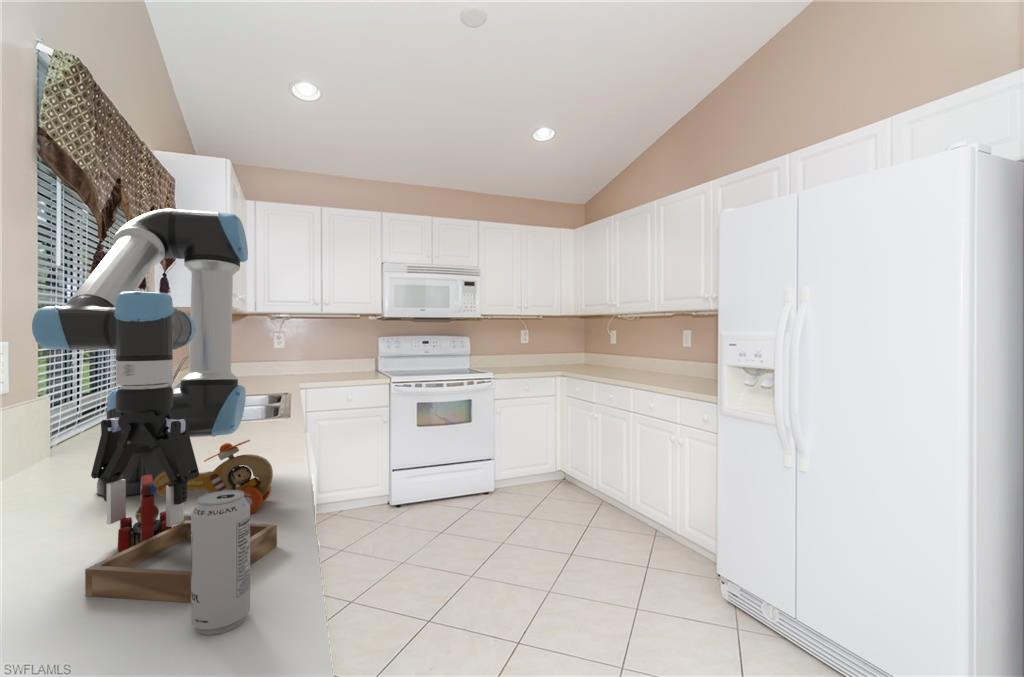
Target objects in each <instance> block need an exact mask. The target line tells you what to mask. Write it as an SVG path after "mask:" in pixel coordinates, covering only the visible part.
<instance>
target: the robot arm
mask: <svg viewBox="0 0 1024 677" xmlns="http://www.w3.org/2000/svg"><path fill="white" fill-rule="evenodd" d="M246 236H247V235H246V231H245V228H244V225H243V222H242V220H241V218H240V217H239V216H237V215H236V214H233V213H228V212H220V211H204V210H202V211H201V210H189V209H175V208H162V209H157V210H156V209H155V210H152V211H149V212H146V213H143V214H141V215H139V216H137V217H135V218H133V219H131V220H129V221H128V222H126V223H125V224H124V225H123V226H121V227H120V228H119V229H118V231H117V232H115V234H114V236H113V238H112V247H111V249H110V250H109V251H108V252H107V253H106V255H105V256H104V257H103V258H102V260H100V262H99V263H98V265H97V266H96V267H95V269H93V271H92V272H91V273H90V274H89V276H88V277H87V279H86V280H85V281H84V282H83V283H82V285H80V287H79V288H78V289H77V291H76V292H75V293H74V294H73V296H71V298H70V299H69V300H68V301H67V303H66V304H65V305H63V306H61V305H58V304H57V305H54V306H53V305H52V306H50V305H49V306H44V307H40V308H39V309H38V310H36V312H35V313H34V316H33V317H32V321H31V332H32V335H33V337H34V340H35V342H36V343H37V344H38V345H39V346H40V347H41V348H43V349H47V350H63V351H64V350H66V351H87V350H89V351H90V350H115V384H116V385H117V386H119V387H120V388H116V389H113V390H112V391H110V392H109V393H108V395H107V401H106V402H107V403H106V410H105V413H106V419H102V420H101V421H100V431H101V434H100V438H99V443H98V447H97V450H96V455H95V458H94V462H93V465H92V470H91V474H90V476H91V478H92V479H94V480H95V479H97V481H96V494H97V495H99V496H102V497H103V500H104V502H106V524H107V525H111V524H114V523H116V522H120V520H121V519H123V518H127V516H126V515H127V511H126V510H127V508H126V507H127V506H126V505H127V502H126V501H127V498H126V497H127V496H134V495H141V477H142V476H144V475H152V477H153V482H154V480H155V478H156V477H157V476H158V475H159V474H160V473H163V472H166V474H167V476H168V478H169V480H170V482H171V483H170V484H168V485H167V486H166V497H165V511H166V527H171V526H172V527H174V526H176V525H178V524H180V523H182V522H184V520H185V517H184V515H185V513H184V510H185V508H184V506H185V505H184V504H185V503H186V502H187V499H188V491H187V482H188V481H189V480H191V479H194V478H197V477H198V476H199V473H200V471H199V467H198V463H197V460H196V456H195V451H194V449H193V445H192V441H191V438H200V437H201V438H203V437H212V438H215V437H218V436H226V435H227V436H228V435H232V434H233V433H234V434H235V432H236V431H237V430H238V429H239V427H240V425H241V423H242V420H243V416H244V411H245V406H246V397H247V396H246V388H245V386H244V385H241V384H239V378H238V377H237V375H235V374H234V373H232V342H233V341H232V336H233V333H232V332H233V330H232V329H233V327H232V326H233V287H234V284H233V283H234V275H235V274H236V273H237V272H239V271H240V269H241V263H245V262H247V261H248V258H249V251H248V250H249V249H248V241H247V237H246ZM164 259H177V260H178V259H179V260H184V261H183V262H184V263H183V264H184V266H185V267H186V268H187V269H188V270H189V271H190V273H191V278H190V280H191V282H190V284H191V285H190V286H191V287H190V314H188V313H186V312H184V311H182V309H178V308H176V307H175V308H174V304H173V297H172V296H171V295H170V294H168V293H165V292H154V291H137V290H138V288H139V287H140V285H141V284H142V283H143V280H144V279H145V277H146V276H147V274H148V273H149V271H150V269H151V268H152V267H153V266H156V265H158V264H160V263H161V262H162V261H163V260H164ZM188 344H189V350H188V351H189V354H188V356H189V358H188V360H189V361H188V372H187V373H186V375H184V376H183V377H182V378H181V379H180V387H173V385H172V383H173V382H174V359H173V358H174V356H173V353H174V350H177V349H179V348H182V347H185V346H187V345H188ZM177 474H178V475H179V476H178V475H177Z"/></svg>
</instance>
